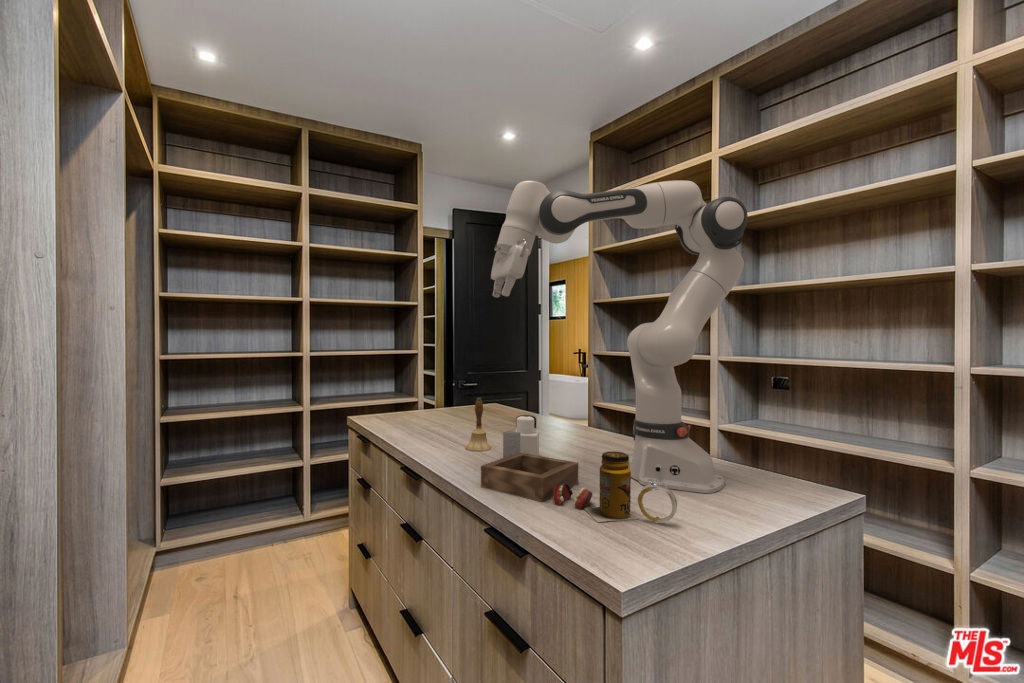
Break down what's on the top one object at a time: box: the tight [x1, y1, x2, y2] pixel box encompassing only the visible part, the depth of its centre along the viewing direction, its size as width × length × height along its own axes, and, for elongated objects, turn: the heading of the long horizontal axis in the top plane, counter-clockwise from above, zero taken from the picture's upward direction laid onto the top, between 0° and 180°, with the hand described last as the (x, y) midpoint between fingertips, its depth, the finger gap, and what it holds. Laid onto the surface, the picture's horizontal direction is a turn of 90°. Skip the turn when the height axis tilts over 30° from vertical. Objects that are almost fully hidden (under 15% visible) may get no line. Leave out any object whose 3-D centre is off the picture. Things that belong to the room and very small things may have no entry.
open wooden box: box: [480, 453, 579, 503], centre depth 113 cm, size 17×16×5 cm
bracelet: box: [637, 479, 678, 525], centre depth 90 cm, size 7×3×8 cm, turn 55°
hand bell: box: [465, 397, 492, 452], centre depth 151 cm, size 8×8×16 cm
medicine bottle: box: [514, 414, 540, 456], centre depth 140 cm, size 7×7×12 cm
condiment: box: [583, 450, 639, 523], centre depth 95 cm, size 7×8×12 cm
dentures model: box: [552, 483, 593, 511], centre depth 101 cm, size 6×4×8 cm
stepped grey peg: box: [500, 430, 520, 459], centre depth 131 cm, size 4×6×9 cm, turn 144°
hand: (500, 296), depth 121 cm, fingers open, 8 cm apart
